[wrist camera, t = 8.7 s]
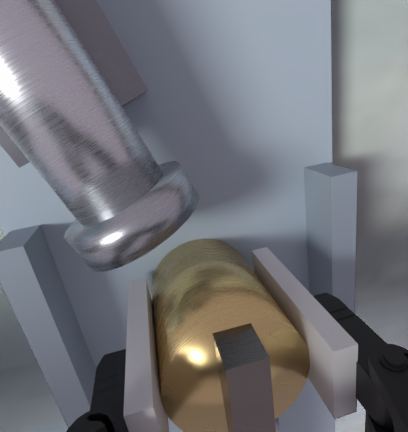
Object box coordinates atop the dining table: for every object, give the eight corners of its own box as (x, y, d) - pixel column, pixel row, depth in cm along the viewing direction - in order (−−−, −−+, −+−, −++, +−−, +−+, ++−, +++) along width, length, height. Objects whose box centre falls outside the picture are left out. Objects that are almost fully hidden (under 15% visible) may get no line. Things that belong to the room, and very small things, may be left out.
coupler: (161, 336, 16) (182, 505, 9) (141, 251, 14) (148, 382, 7) (252, 312, 17) (333, 452, 10) (244, 228, 15) (336, 329, 8)
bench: (123, 481, 21) (121, 553, 18) (-103, -67, 10) (-220, -153, 7) (322, 413, 23) (355, 465, 20) (307, -100, 12) (373, -179, 9)
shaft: (92, 227, 13) (66, 303, 8) (-108, -22, 10) (-391, -174, 4) (190, 168, 13) (225, 205, 8) (31, -104, 10) (-89, -351, 4)
